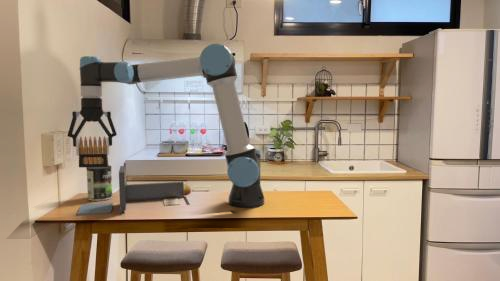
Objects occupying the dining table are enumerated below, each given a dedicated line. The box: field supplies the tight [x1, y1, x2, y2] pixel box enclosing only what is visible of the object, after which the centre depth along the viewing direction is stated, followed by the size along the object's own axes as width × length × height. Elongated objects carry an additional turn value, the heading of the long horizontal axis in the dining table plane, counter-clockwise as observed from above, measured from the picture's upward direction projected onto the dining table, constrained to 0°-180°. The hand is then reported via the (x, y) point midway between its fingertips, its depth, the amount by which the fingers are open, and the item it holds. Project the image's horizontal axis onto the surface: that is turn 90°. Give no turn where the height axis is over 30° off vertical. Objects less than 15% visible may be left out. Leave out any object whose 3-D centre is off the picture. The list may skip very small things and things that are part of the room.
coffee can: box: [85, 164, 113, 202], centre depth 171 cm, size 10×10×14 cm
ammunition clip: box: [78, 136, 109, 168], centre depth 152 cm, size 11×2×12 cm, turn 98°
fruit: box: [183, 182, 192, 196], centre depth 175 cm, size 11×10×8 cm
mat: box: [76, 202, 114, 216], centre depth 154 cm, size 12×14×1 cm
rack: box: [118, 165, 190, 215], centre depth 157 cm, size 26×16×16 cm, turn 106°
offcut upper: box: [162, 198, 181, 207], centre depth 159 cm, size 6×10×1 cm, turn 15°
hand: (93, 154), depth 152 cm, fingers closed on ammunition clip, 10 cm apart
